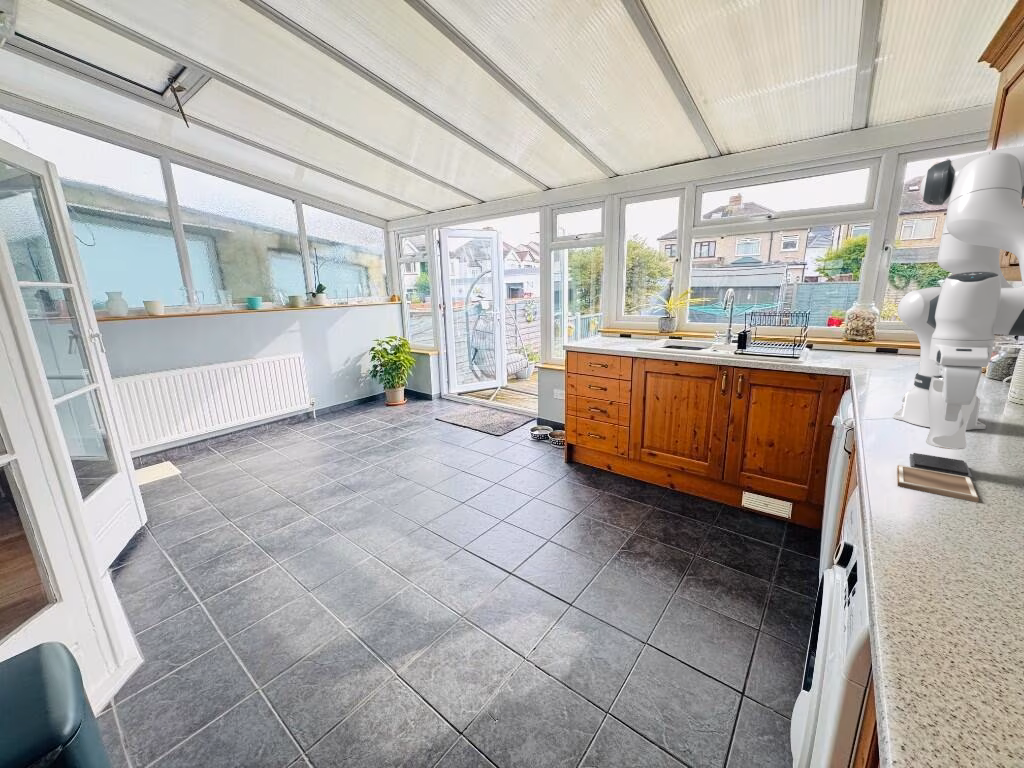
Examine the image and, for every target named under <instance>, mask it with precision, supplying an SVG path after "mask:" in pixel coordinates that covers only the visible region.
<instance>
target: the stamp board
mask: <svg viewBox="0 0 1024 768" xmlns="http://www.w3.org/2000/svg"><path fill="white" fill-rule="evenodd" d="M896 469H897V471H896V475H897V480H896V481H897V487H898V486H900V487H899V488H903V487H904V489H908V488H910V489H909V490H914V491H919V490H920V491H919V492H924V491H925V492H924V493H929V492H930V494H933V495H939V496H944V497H948V498H954V499H959V498H960V499H959V500H964V499H966V500H965V501H969V500H970V501H969V502H974V503H979V499H980V498H979V495H978V492H977V490H976V487H975V486H974V483H973V480H972V479H971V478H970V477H966V476H960V475H954V474H948V473H943V472H937V471H931V470H925V469H920V468H914V467H910V466H907V465H902V464H898V465H897V467H896Z"/></svg>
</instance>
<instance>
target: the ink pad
mask: <svg viewBox="0 0 1024 768" xmlns="http://www.w3.org/2000/svg"><path fill="white" fill-rule="evenodd" d="M909 467H914V468H920V469H925V470H931V471H937V472H943V473H948V474H954V475H960V476H966V477H970V478H971V480H972V479H973V475H972V473H971V471H970V468H969V466H968V463H967V462H966V461H965V460H961V459H956V458H949V457H943V456H936V455H930V454H924V453H916V452H912V453H910V454H909Z"/></svg>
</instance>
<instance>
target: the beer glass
mask: <svg viewBox="0 0 1024 768" xmlns="http://www.w3.org/2000/svg"><path fill="white" fill-rule="evenodd" d="M941 377H942V375H933V376H932V378H931V382H930V387H929V393H928V409H929V416H930V427H929V432H928V434H927V437H926V440H925V443H926V444H927V445H929V446H931V447H935V448H939V449H946V450H965V449H967V445H968V443H967V438H966V431H967V430H966V427H967V424H968V422H969V419H970V417H971V414H972V412H973V409H974V405H975V401H976V396H977V392H978V391H977V389H978V388H977V389H976V392H975V396H974V398H973V400H972V402H971V404H969V405H962V407H961V409H960V411H959V414H958V419H957V421H955V422H953V421H946V420H945V418H944V416H945V411H946V403H945V402H944V399H943V397H942V389H943V383H944V379H942V378H941Z"/></svg>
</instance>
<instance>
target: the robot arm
mask: <svg viewBox="0 0 1024 768" xmlns="http://www.w3.org/2000/svg"><path fill="white" fill-rule="evenodd" d="M919 192H920V195H921V197H922V201H923V202H924V203H926V204H927V205H932V206H942V205H944V204H947V207H946V208H947V209H946V216H945V219H944V223H943V227H942V231H941V236H940V237H941V238H940V242H939V248H938V252H937V265H938V267H940V269H942V270H945V271H946V272H949V273H951V275H949V276H947V277H946V278H945V279H944V282H943V284H942V286H931V287H926V288H919V289H916V290H911V291H910V292H907V293H906V294H905V295H904V296H903V297H902V298H901V300H900V301H899V302H898V305H897V315H898V317H899V319H900V320H901V322H902V323H904V324H905V325H906V326H908V327H909V328H910V329H911V330H913V332H914V334H915V335H916V336H917V339H918V341H919V345H920V352H919V354H920V355H919V366H918V371H917V373H916V374H915V375H914V376H915V377H914V379H913V380H914V381H913V388H912V389H910V390H908V391H907V392H906V393H905V394H904V395H903V396H902V399H901V401H902V403H903V404H902V405H901V408H900V409H899V410H897V411H896V412H895V413H894V414H893V416H892V418H893V419H895V420H899V421H903V422H906V423H909V424H911V425H912V424H913V425H916V426H921V427H927V428H930V416H929V409H928V393H929V387H930V382H931V378H932V376H933V375H942V377H941V378H942V379H944V383H943V389H942V397H943V399H944V402H945V403H946V411H945V416H944V418H945V420H946V421H953V422H955V421H957V419H958V414H959V411H960V409H961V407H962V405H969V404H971V402H972V400H973V398H974V396H975V392H976V389H978V385H979V383H980V380H981V379H980V378H981V375H982V370H983V368H987V367H988V365H989V363H990V362H991V359H992V353H993V347H994V343H995V335H1008V336H1015V337H1016V336H1017V337H1024V206H1023V204H1022V200H1023V199H1024V146H1015V147H1004V148H998V149H991V150H989V151H986V152H981V153H976V154H971V155H968V156H967V155H966V156H964V157H959V158H955V159H946V160H944V161H941V162H938V163H935V164H934V165H932V166H931V167H930V168H928V169H927V172H926V173H925V175H924V176H923V178H922V180H921V183H920V186H919ZM1001 250H1002V251H1005V252H1009V253H1011V254H1013V255H1014V256H1015V257H1016V258H1017V260H1018V265H1019V271H1020V272H1019V273H1020V277H1021V278H1020V279H1021V284H1022V285H1021V286H1016V287H1014V286H1013V285H1011V284H1010V283H1009V282H1008V281H1007V279H1006V278H1005V276H1004V274H1003V271H1002V269H1001V266H1000V253H1001ZM976 393H977V392H976ZM980 404H981V399H980V398H979V397H978V396H977V395H976V401H975V405H974V409H973V412H972V414H971V417H970V419H969V422H968V424H967V427H966V431H971V430H986V427H987V426H986V424H984V423H982V422H981V421H979V420H978V419H979V414H980V413H979V412H980V406H981V405H980Z"/></svg>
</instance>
